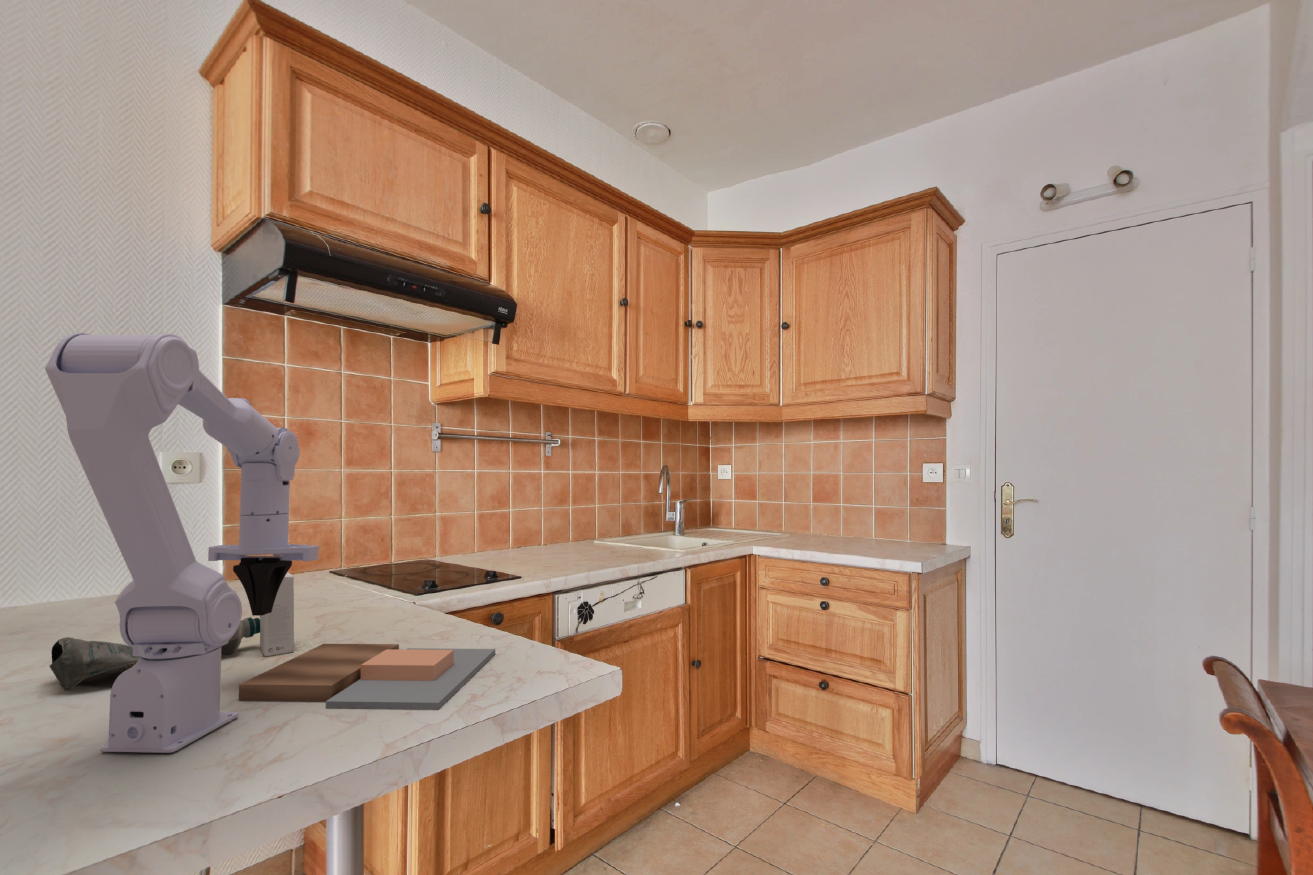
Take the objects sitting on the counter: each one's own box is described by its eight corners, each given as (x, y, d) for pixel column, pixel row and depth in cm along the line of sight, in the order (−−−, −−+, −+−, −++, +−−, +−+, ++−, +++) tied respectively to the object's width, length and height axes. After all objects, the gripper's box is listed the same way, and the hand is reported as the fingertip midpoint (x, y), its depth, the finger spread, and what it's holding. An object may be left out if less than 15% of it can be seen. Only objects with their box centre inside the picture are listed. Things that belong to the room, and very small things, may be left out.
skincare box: (295, 652, 97) (296, 575, 98) (261, 657, 95) (263, 578, 95) (289, 643, 102) (291, 570, 103) (257, 648, 99) (259, 573, 100)
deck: (331, 701, 76) (331, 685, 76) (238, 700, 77) (239, 684, 77) (398, 657, 94) (398, 644, 94) (323, 656, 95) (323, 643, 95)
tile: (433, 680, 81) (433, 665, 81) (360, 679, 82) (360, 664, 82) (453, 663, 88) (453, 649, 88) (386, 663, 89) (386, 649, 89)
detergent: (52, 702, 77) (275, 652, 96) (53, 644, 77) (274, 605, 96) (41, 687, 85) (248, 644, 104) (41, 635, 86) (247, 601, 105)
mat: (438, 709, 74) (438, 702, 74) (325, 707, 74) (325, 701, 74) (495, 654, 96) (495, 648, 96) (407, 653, 96) (407, 648, 96)
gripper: (332, 511, 88) (330, 607, 87) (236, 512, 89) (234, 606, 88) (300, 515, 81) (298, 619, 80) (196, 515, 82) (193, 618, 81)
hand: (262, 613), depth 83 cm, fingers closed
